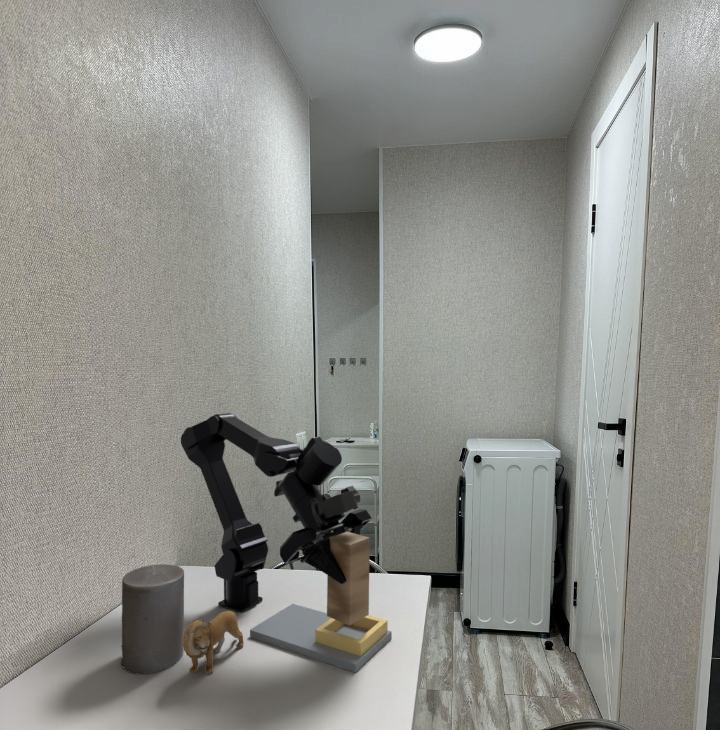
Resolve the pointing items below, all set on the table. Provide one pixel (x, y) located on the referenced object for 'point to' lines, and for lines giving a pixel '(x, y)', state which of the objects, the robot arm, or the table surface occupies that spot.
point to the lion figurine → (209, 638)
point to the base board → (324, 636)
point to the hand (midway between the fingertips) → (354, 577)
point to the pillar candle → (152, 618)
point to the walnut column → (349, 578)
